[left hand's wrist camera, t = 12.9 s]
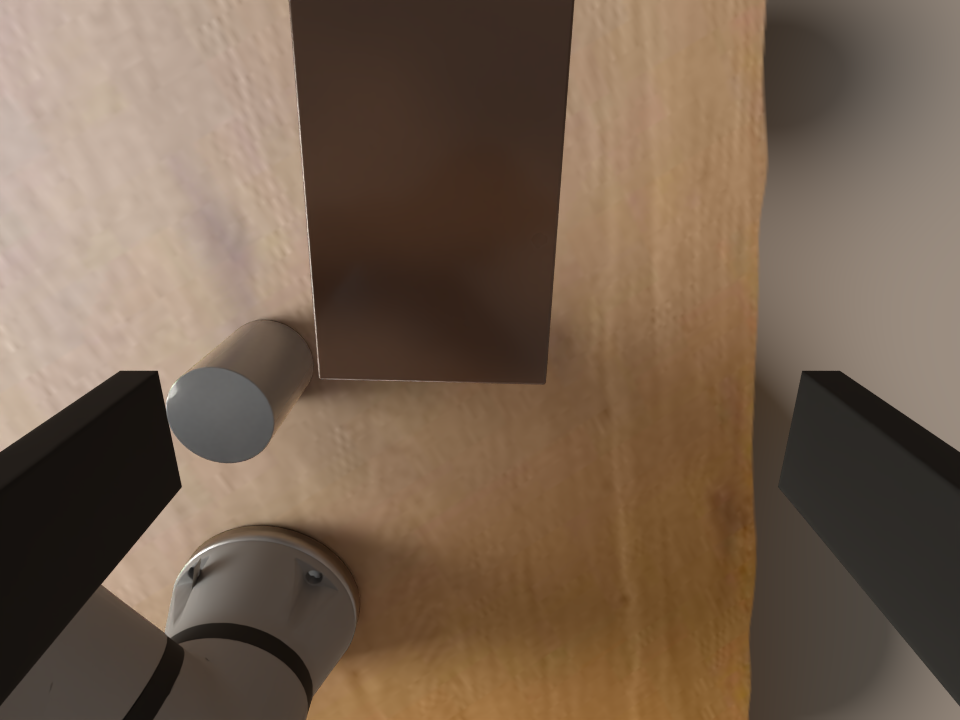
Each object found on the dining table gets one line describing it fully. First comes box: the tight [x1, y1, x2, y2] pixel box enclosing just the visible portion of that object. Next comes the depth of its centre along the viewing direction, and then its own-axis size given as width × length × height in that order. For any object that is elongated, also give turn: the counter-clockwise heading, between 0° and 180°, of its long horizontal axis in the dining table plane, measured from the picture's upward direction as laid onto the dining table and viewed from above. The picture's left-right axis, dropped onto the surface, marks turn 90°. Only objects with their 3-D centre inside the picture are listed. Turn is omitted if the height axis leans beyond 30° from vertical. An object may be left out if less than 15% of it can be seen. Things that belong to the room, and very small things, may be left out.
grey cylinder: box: [166, 320, 313, 463], centre depth 40 cm, size 6×6×9 cm
